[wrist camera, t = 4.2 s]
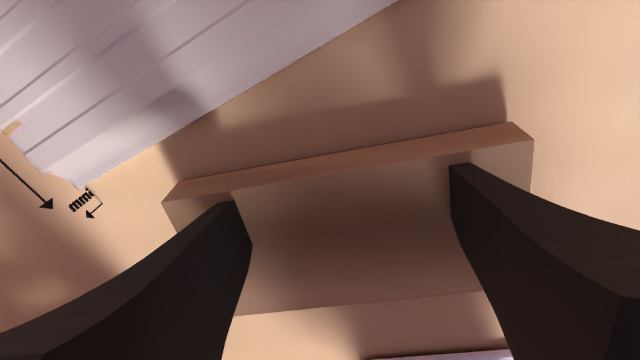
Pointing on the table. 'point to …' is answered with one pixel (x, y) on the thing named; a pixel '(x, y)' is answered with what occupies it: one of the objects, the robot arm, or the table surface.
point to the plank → (356, 219)
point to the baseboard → (141, 70)
